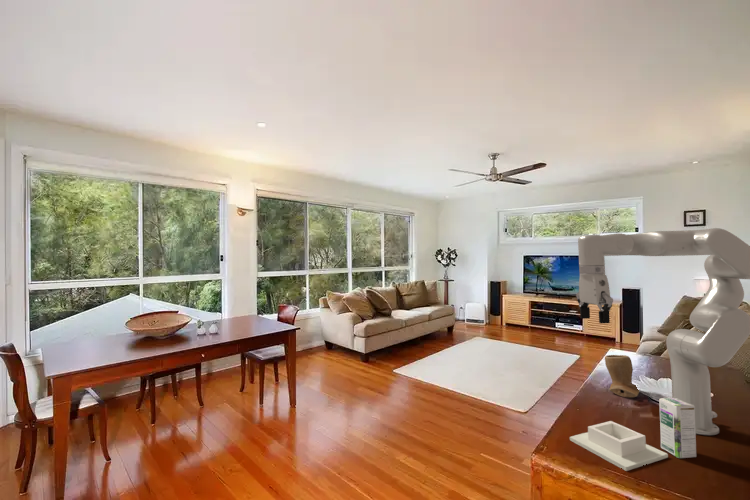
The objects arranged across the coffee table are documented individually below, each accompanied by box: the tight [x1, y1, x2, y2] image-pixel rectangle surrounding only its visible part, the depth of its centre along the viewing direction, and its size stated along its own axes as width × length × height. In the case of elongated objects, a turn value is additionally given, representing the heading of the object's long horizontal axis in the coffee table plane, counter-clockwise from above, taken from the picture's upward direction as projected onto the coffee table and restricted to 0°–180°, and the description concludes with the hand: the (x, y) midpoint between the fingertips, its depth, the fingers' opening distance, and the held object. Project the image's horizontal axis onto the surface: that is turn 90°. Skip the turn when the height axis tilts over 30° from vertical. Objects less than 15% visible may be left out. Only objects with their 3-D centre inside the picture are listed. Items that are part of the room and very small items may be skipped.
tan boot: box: [604, 354, 641, 398], centre depth 144 cm, size 15×12×15 cm
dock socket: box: [569, 420, 669, 472], centre depth 102 cm, size 17×17×5 cm
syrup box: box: [658, 397, 697, 459], centre depth 99 cm, size 6×6×14 cm
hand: (594, 320), depth 118 cm, fingers open, 9 cm apart
